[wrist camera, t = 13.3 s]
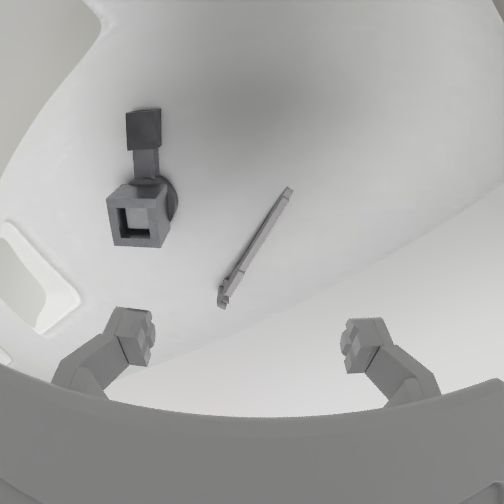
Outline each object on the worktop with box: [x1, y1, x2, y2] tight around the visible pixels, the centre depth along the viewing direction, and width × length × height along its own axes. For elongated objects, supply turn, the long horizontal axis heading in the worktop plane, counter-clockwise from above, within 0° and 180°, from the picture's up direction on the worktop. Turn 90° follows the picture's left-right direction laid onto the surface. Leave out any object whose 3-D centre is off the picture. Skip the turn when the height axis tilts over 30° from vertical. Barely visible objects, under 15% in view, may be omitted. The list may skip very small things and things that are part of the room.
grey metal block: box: [106, 184, 170, 248], centre depth 35 cm, size 7×7×5 cm
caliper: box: [217, 187, 293, 310], centre depth 41 cm, size 20×1×6 cm, turn 150°
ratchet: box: [125, 109, 178, 229], centre depth 34 cm, size 17×8×6 cm, turn 177°
